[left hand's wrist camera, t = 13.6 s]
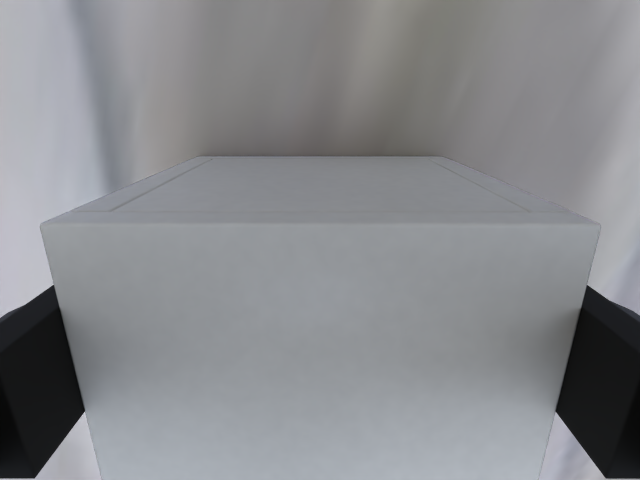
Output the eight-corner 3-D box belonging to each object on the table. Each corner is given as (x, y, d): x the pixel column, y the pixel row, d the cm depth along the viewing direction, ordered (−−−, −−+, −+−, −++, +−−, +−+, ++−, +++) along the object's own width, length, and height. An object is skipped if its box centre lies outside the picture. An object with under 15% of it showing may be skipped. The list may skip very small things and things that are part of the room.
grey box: (412, 462, 23) (479, 723, 13) (227, 462, 23) (160, 723, 13) (444, 156, 17) (604, 223, 7) (196, 155, 17) (36, 223, 7)
